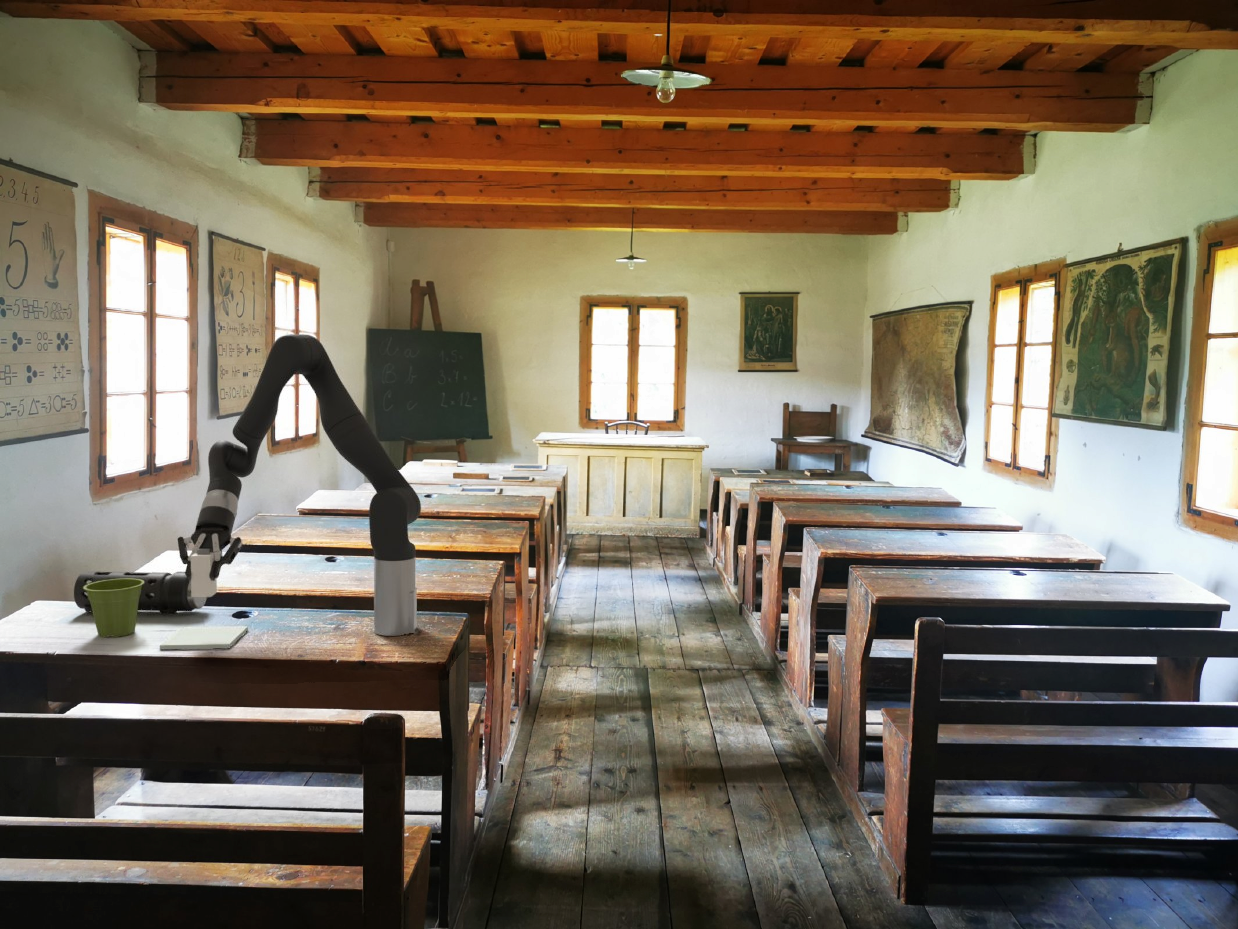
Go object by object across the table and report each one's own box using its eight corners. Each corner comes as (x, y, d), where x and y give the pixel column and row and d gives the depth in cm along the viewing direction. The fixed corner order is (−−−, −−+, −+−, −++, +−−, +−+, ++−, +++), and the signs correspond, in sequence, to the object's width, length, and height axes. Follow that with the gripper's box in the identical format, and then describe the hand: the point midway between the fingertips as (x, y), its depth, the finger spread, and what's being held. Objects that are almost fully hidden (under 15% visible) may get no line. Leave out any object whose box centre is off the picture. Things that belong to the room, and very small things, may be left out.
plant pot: (111, 624, 208) (110, 576, 207) (157, 628, 206) (156, 579, 205) (72, 639, 196) (70, 588, 195) (120, 643, 194) (118, 591, 193)
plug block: (216, 592, 199) (216, 547, 198) (210, 596, 195) (210, 550, 194) (197, 592, 198) (196, 547, 197) (191, 597, 194) (190, 550, 194)
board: (248, 630, 205) (247, 626, 205) (229, 648, 192) (229, 644, 191) (183, 631, 204) (183, 627, 204) (159, 649, 190) (159, 645, 190)
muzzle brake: (95, 607, 223) (94, 566, 222) (210, 609, 224) (209, 568, 223) (73, 617, 214) (71, 574, 213) (192, 619, 214) (191, 576, 213)
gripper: (180, 504, 201) (161, 569, 191) (246, 504, 203) (231, 569, 192) (189, 523, 207) (170, 588, 196) (253, 524, 209) (239, 587, 198)
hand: (201, 578), depth 194 cm, fingers closed on plug block, 4 cm apart
